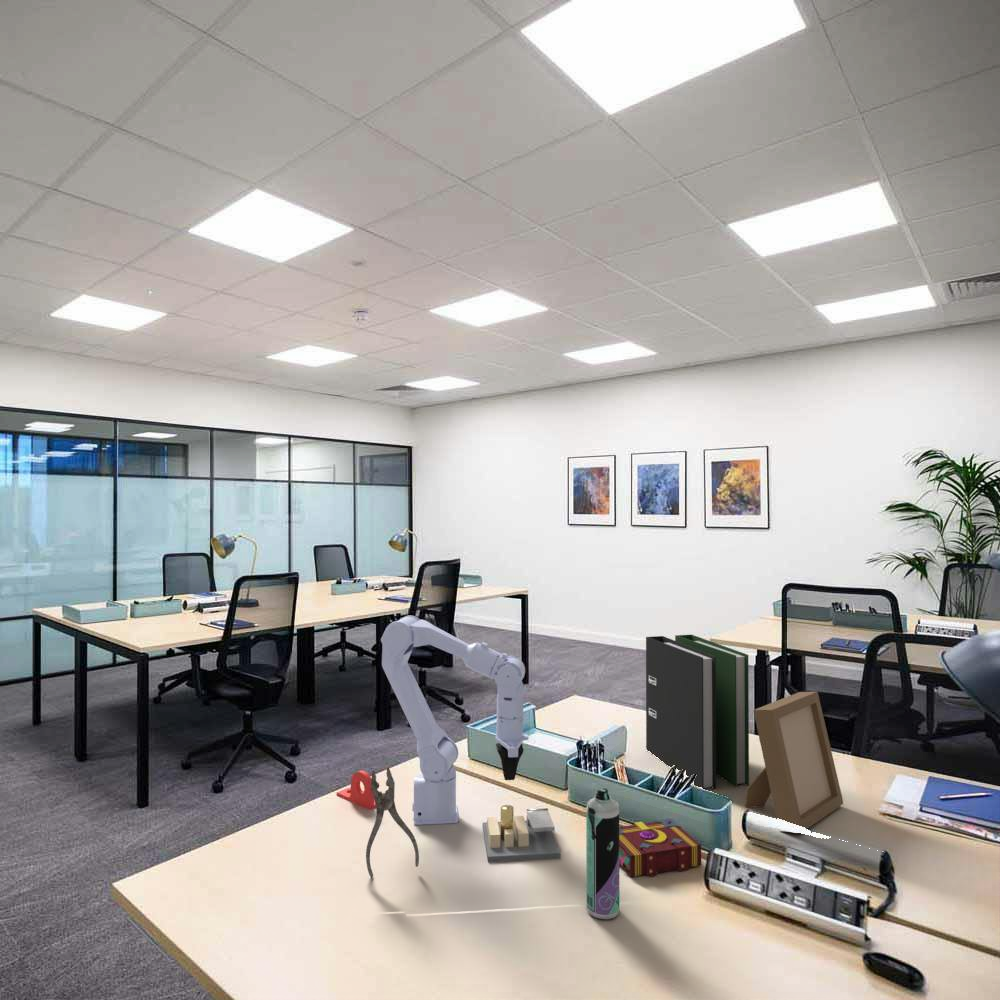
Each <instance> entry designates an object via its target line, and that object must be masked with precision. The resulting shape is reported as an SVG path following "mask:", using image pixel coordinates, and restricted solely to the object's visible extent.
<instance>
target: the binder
mask: <svg viewBox="0 0 1000 1000" xmlns="http://www.w3.org/2000/svg"><path fill="white" fill-rule="evenodd" d="M674 637H675V638H674V639H675V640H674V639H671V638H669V637H666V636H663V635H658V636H656V635H655V636H645V689H646V690H645V716H646V717H645V718H646V719H645V730H646V732H645V734H646V735H645V736H646V737H645V740H646V741H645V747H646V749H647V750H648V751H650V752H651V753H652V754H654V755H655V756H656V757H658V758H659V759H660V760H661V761H663V762H664V763H665V764H666V765H665V764H664V763H663V762H662V763H663V764H664V765H665V766H667V765H668V766H670V767H672V766H673V765H677V769H678V770H682V769H685V770H686V775H687V776H691V775H693V774H697V776H696V778H695V780H694V785H695V786H698V787H702V788H705V789H706V788H712V787H713V788H712V789H713V790H714V791H716V790H717V776H718V777H719V778H721V779H722V778H723V779H722V780H723V781H725V780H726V781H725V782H727V784H729V785H731V784H732V785H731V786H733V787H734V786H735V787H734V788H736V787H738V786H737V785H738V784H739V785H740V784H745V786H747V787H748V786H749V785H750V742H749V741H750V733H749V731H750V727H749V726H750V724H749V721H750V720H749V719H750V716H749V711H750V709H749V705H750V704H749V699H750V698H749V697H750V696H749V691H750V690H749V689H750V688H749V684H750V683H749V654H748V653H745V652H741V651H739V650H736V649H733V648H731V647H728V646H725V645H722V644H719V643H717V642H713V641H711V640H709V639H705V638H702V637H700V636H696V635H694V634H678V635H674ZM648 751H647V752H648ZM652 754H651V755H652ZM656 757H655V758H656ZM659 759H658V760H659ZM660 760H659V761H660ZM661 761H660V762H661ZM668 766H667V767H668ZM694 785H693V786H694ZM695 786H694V787H695ZM715 789H716V790H715Z"/></svg>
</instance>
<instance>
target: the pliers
mask: <svg viewBox="0 0 1000 1000" xmlns="http://www.w3.org/2000/svg"><path fill="white" fill-rule="evenodd" d="M386 778H387V779H386V781H385V786H387V787H388V789H386V790H385V791H384V792H383V791H379V790H378V789H379V788H380V784H379V782H378V781H377V774H376V772H375V769H374V768H372V769H371V791H372V794H373V798H374V801H375V804H376V809H375V811H376V815H375V821H374V824H373V827H372V829H371V833H370V835H369V839H368V840H367V844H366V850H365V863H366V864H365V865H366V869H367V872H368V875H369V877H370V878H371V879H372V878H374V873H373V869H372V866H371V850H372V846H373V843H374V842H375V841H374V840H375V838H376V836H377V834H378V832H379V829H380V828H381V825H382V821H383V818H384V813H385V811H388V813H389V814H390V817H392V819H393V820H394V822H395V823H396V824H397V825H398V826H399V827H400V829H402V830H403V832H404V833H405V834H406V835H407V837H409V839H410V841H411V843H412V845H413V850H414V856H415V858H414V860H415V862H414V863H415V865H414V866H415V867H416V868H417V867H419V863H420V856H419V855H420V853H419V852H420V851H419V847H418V843H417V840H416V838H415V836H414V834H413V832H412V831H411V829H410V828H409V827H408V826H407V824H406V823H405V821H404V820H403V819H402V817H401V816H400V814H399V813H398V811H397V807H396V803H395V786H396V785H395V781H394V780H395V779H394V778H393V775H392V772H391V769H390V766H389V765H387V766H386Z"/></svg>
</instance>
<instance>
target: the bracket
mask: <svg viewBox="0 0 1000 1000" xmlns="http://www.w3.org/2000/svg"><path fill="white" fill-rule="evenodd" d="M371 778H372V776H371V775H370V774H369V773H368V772H367V771H365V770H363V769H362V770H359V771H355V772H354V773H353V774H352V776H351V779H350V786H349V787H350V788H349V787H347V788H344V789H341V790H339V791H337V792H336V796H338V797H340V798H342V799H344V800H347V801H348V802H351V803H353V804H356V805H358V806H359V807H362V808H364V809H366V810H368V811H371V810H373V809H375V808H376V804H375V801H374V798H373V794H372V791H371ZM361 783H362V785H363V789H364V790H363V789H362V787H361Z"/></svg>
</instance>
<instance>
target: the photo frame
mask: <svg viewBox="0 0 1000 1000" xmlns="http://www.w3.org/2000/svg"><path fill="white" fill-rule="evenodd" d="M752 710H753V715H754V720H755V724H756V730H757V734H758V737H759V738H758V739H759V742H760V743H759V744H760V748H761V752H762V756H763V762H764V768H763V769H762V771H760V773H759V774H758V775H757V776H755V778H754V779H753V780H752V782H750V783H749V786H747V787H746V793H745V800H744V801H745V802H744V807H745V808H755V807H758V808H759V807H765V805H766V803H767V801H768V799H769V797H770V795H771V800H772V803H773V808H774V809H773V810H774V813H775V818H776V819H777V818H779V819H782V820H785V821H787V822H790V823H793V824H796V825H799V826H802V827H805V828H808V829H809V828H811V827H812V826H813V825H815V824H816V823H818V822H819V821H821V820H822V819H823V818H825V817H826V816H828V815H829V814H830V813H832V812H834V811H836V809H838V808H840V807H841V806H842V805H843V804H844V800H843V795H842V790H841V786H840V781H839V778H838V773H837V769H836V765H835V761H834V756H833V750H832V748H831V744H830V739H829V735H828V731H827V727H826V726H827V725H826V722H825V718H824V713H823V710H822V706H821V701H820V696H819V692H818V691H799V692H796V693H793V694H792V695H789V696H786V697H783V698H781V699H778V700H776V701H773V702H770V703H767V704H765V705H762V706H761V707H757V708H755V709H752ZM753 806H755V807H753Z"/></svg>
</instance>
